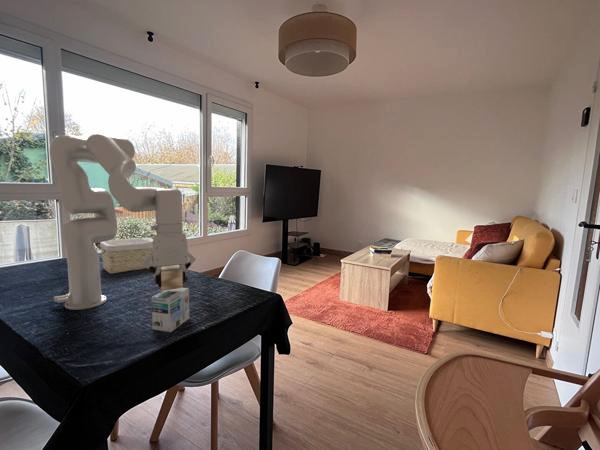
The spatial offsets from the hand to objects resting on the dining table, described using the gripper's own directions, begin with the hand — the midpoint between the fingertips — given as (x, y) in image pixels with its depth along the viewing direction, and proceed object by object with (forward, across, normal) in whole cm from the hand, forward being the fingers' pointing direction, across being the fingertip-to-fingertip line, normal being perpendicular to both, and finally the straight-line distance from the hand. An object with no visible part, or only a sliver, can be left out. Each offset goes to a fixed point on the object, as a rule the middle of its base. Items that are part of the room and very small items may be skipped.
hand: (170, 283), depth 96 cm
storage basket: (+14, -7, +78) cm, 79 cm away
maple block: (+1, 0, 0) cm, 1 cm away
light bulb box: (+14, 0, 0) cm, 14 cm away
